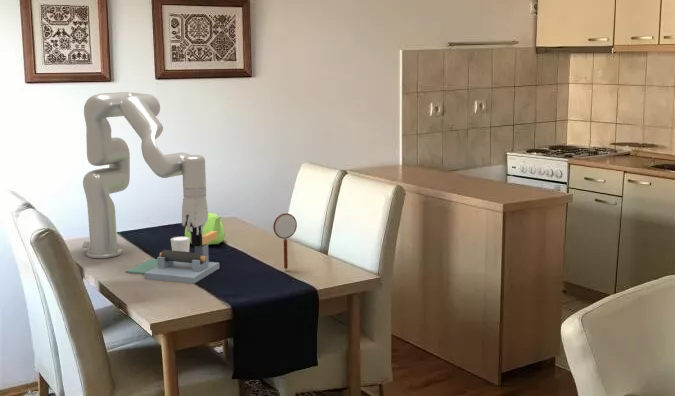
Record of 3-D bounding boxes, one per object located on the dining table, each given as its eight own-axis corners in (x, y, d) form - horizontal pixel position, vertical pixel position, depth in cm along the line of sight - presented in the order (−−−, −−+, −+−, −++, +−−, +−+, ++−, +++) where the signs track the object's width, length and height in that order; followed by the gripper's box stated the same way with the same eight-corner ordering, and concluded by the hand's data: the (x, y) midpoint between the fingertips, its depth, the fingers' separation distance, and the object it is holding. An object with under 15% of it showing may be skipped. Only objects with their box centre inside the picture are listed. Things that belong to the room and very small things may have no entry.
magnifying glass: (275, 273, 249) (274, 215, 245) (273, 272, 251) (272, 214, 247) (298, 269, 253) (297, 212, 249) (296, 268, 255) (295, 211, 251)
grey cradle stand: (145, 278, 244) (143, 254, 242) (173, 264, 261) (172, 241, 259) (194, 283, 238) (192, 258, 237) (219, 268, 255) (218, 245, 254)
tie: (197, 245, 252) (196, 238, 252) (212, 237, 263) (211, 230, 262) (202, 245, 252) (202, 238, 251) (217, 237, 262) (217, 231, 262)
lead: (158, 261, 249) (157, 251, 249) (163, 258, 253) (163, 248, 252) (201, 265, 244) (201, 254, 244) (207, 262, 248) (206, 252, 247)
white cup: (186, 260, 266) (185, 241, 264) (168, 259, 267) (167, 240, 266) (193, 255, 272) (192, 236, 271) (176, 254, 274) (175, 235, 272)
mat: (125, 272, 250) (125, 270, 250) (151, 260, 265) (151, 258, 265) (146, 274, 248) (146, 273, 248) (171, 262, 263) (171, 260, 263)
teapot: (238, 246, 285) (237, 212, 282) (204, 252, 275) (203, 218, 273) (209, 235, 301) (207, 204, 299) (175, 241, 292) (174, 209, 289)
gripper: (195, 187, 255) (197, 239, 258) (173, 195, 241) (175, 250, 245) (215, 189, 253) (217, 241, 256) (193, 197, 239) (196, 252, 242)
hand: (196, 245), depth 250 cm, fingers closed
